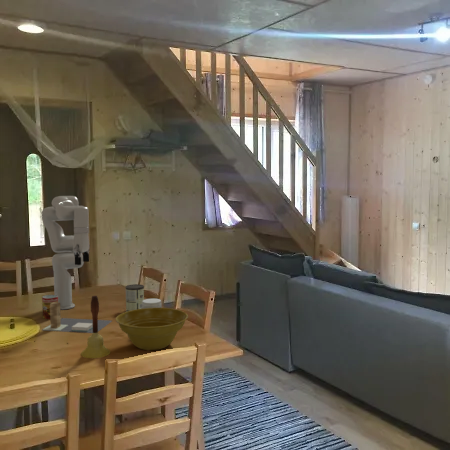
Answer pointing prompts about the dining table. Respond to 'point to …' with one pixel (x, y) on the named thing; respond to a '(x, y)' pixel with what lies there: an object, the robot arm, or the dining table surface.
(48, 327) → the pad
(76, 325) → the tile
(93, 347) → the handbell
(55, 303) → the tan wooden block
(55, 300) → the canned food
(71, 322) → the mat
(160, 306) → the supplement tub
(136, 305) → the coffee can
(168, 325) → the planter bowl
